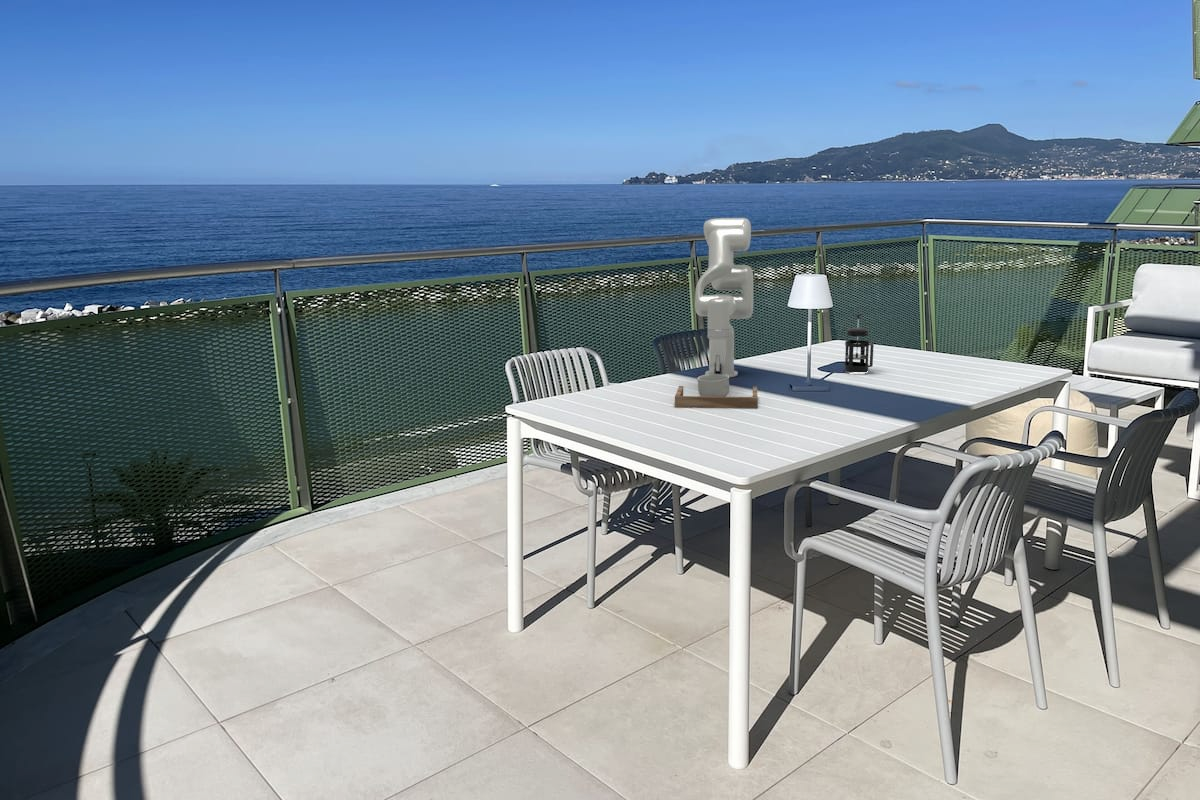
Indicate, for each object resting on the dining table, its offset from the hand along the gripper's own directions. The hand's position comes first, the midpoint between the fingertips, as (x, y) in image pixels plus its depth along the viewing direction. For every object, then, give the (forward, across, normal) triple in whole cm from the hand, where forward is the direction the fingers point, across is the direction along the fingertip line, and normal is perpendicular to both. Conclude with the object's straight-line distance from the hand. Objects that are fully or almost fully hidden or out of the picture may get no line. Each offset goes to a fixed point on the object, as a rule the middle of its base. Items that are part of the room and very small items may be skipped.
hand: (718, 385), depth 303 cm
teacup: (+3, +7, -2) cm, 8 cm away
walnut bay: (+3, +12, 0) cm, 12 cm away
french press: (+3, -40, +52) cm, 66 cm away
